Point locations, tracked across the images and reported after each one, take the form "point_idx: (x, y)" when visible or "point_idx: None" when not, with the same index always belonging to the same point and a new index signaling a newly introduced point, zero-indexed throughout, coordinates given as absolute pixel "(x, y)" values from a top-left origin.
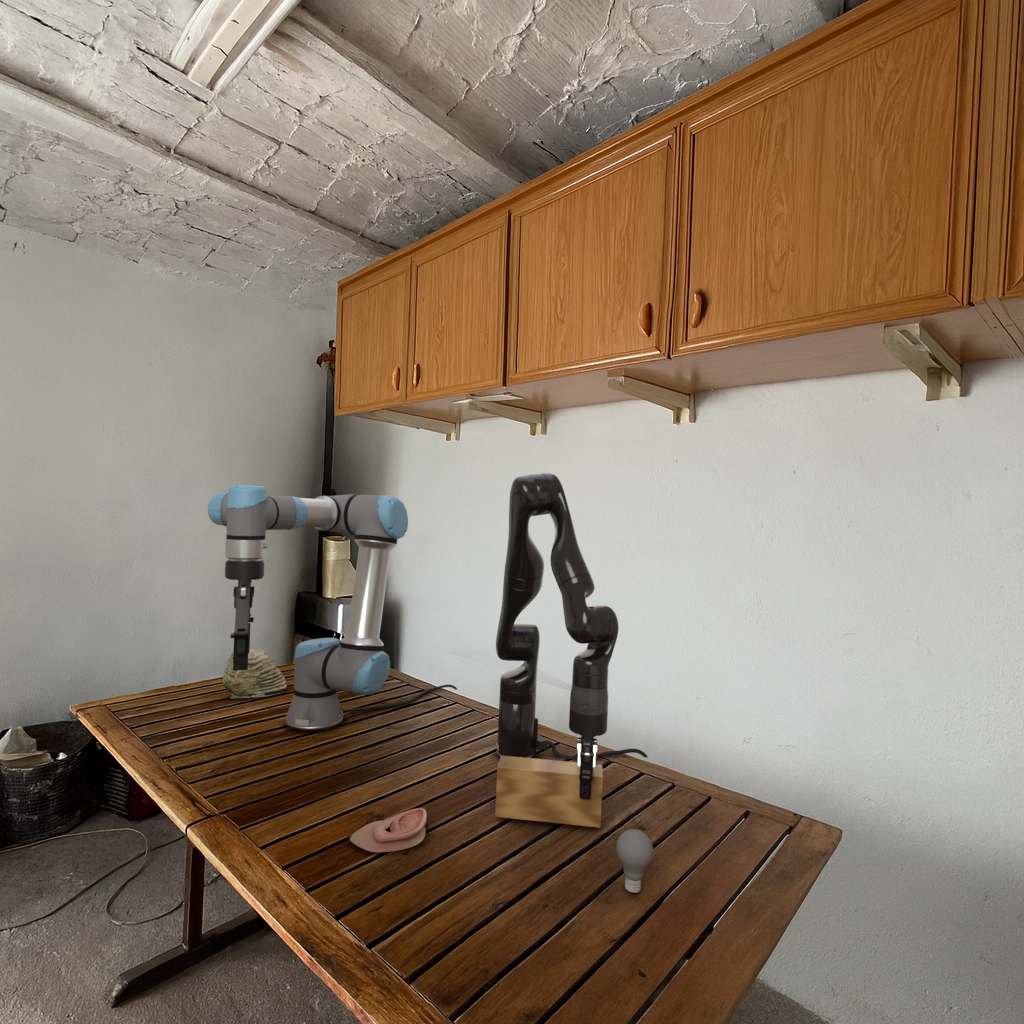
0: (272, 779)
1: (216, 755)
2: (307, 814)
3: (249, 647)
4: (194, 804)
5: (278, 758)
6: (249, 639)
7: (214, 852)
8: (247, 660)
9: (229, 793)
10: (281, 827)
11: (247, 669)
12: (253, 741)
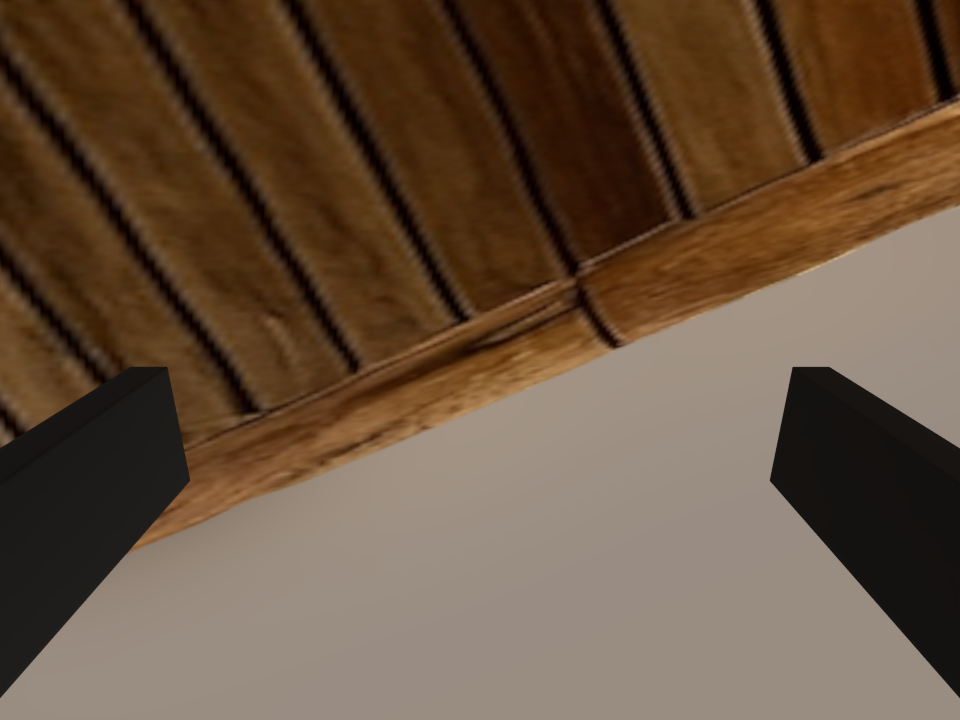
0: (380, 123)
1: (152, 312)
2: (676, 8)
3: (128, 391)
4: (498, 344)
5: (197, 98)
6: (66, 439)
7: (782, 276)
8: (890, 409)
9: (453, 257)
10: (726, 99)
11: (829, 369)
12: (23, 193)
